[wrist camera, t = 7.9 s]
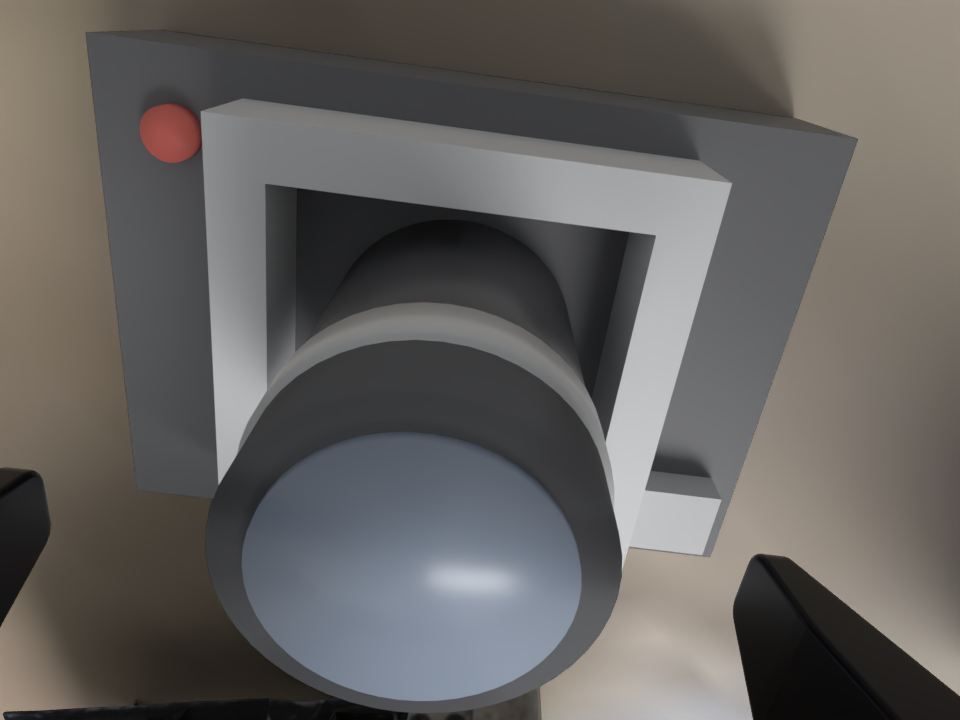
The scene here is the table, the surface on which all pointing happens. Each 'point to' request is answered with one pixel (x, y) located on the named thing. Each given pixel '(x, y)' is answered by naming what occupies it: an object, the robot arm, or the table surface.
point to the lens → (424, 485)
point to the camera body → (456, 196)
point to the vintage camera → (283, 711)
